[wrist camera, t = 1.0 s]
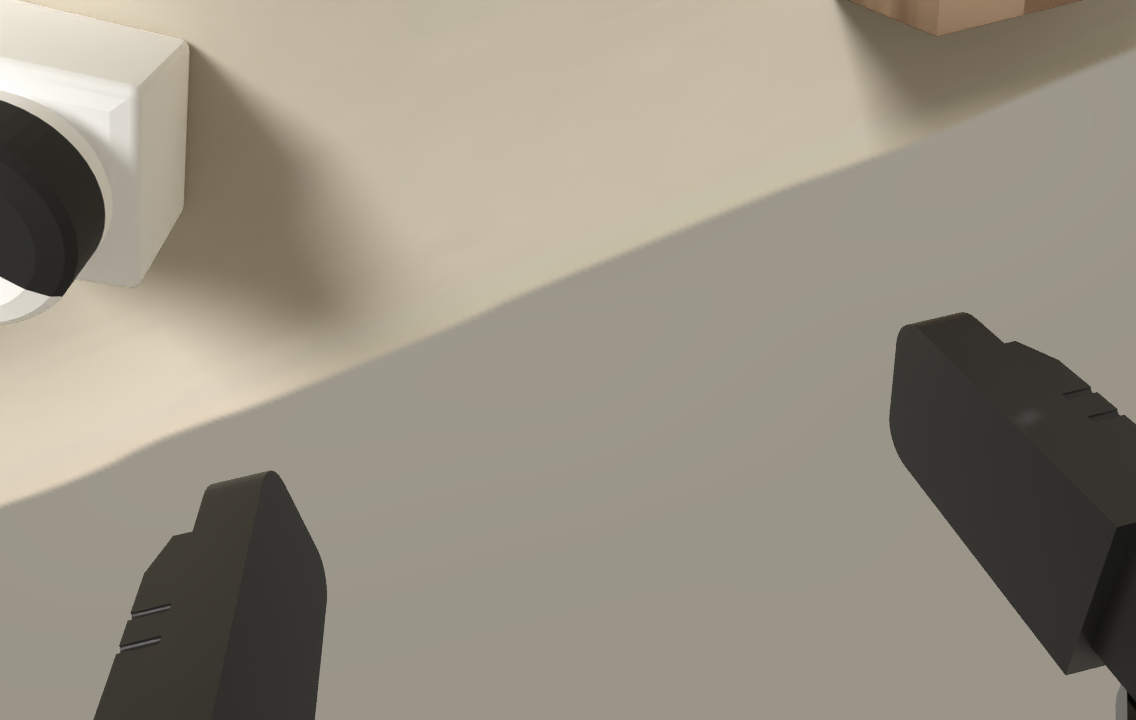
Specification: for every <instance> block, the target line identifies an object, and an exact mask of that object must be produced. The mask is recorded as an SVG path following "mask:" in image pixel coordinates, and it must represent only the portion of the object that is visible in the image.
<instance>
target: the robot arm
mask: <svg viewBox="0 0 1136 720" xmlns="http://www.w3.org/2000/svg"><path fill="white" fill-rule="evenodd" d="M889 421H890V431H891V436H892V440H893V443H894V446H895V448H896V451H897V453H898V455H899V457H900V459H901V461H902V462H903V464H904V465H905V467H906V468H907V469H908V471H909V472H910V473H911V474H912V476H913V477H914V478H915V480H916V481H917V482H918V484H919V485H920V486H921V488H922V489H923V490H924V491H925V493H926V494H927V495H928V497H929V498H930V499H931V501H932V502H933V503H934V504H935V505H936V507H937V508H938V510H939V511H940V512H941V514H942V515H943V516H944V517H945V519H946V520H947V521H948V522H949V524H950V525H951V527H952V528H953V529H954V530H955V532H956V533H957V534H958V535H959V537H960V538H961V540H962V541H963V542H964V543H965V545H966V546H967V547H968V549H969V550H970V551H971V553H972V554H973V555H974V556H975V558H976V559H977V560H978V562H979V563H980V564H981V565H982V567H983V568H984V570H985V571H986V572H987V573H988V575H989V576H990V577H991V578H992V580H993V581H994V582H995V584H996V585H997V586H998V588H999V589H1000V590H1001V592H1002V593H1003V594H1004V596H1005V597H1006V598H1007V600H1008V601H1009V602H1010V603H1011V605H1012V606H1013V607H1014V609H1015V610H1016V611H1017V613H1018V614H1019V615H1020V616H1021V618H1022V619H1023V620H1024V622H1025V623H1026V624H1027V625H1028V627H1029V628H1030V629H1031V631H1032V632H1033V633H1034V635H1035V636H1036V637H1037V639H1038V640H1039V641H1040V642H1041V644H1042V645H1043V646H1044V648H1045V649H1046V650H1047V651H1048V653H1049V654H1050V656H1051V657H1052V658H1053V659H1054V661H1055V662H1056V663H1057V665H1058V666H1059V667H1060V668H1061V670H1062V671H1063V672H1064V674H1065V675H1069V674H1073V673H1076V672H1080V671H1085V670H1088V669H1092V668H1096V667H1100V666H1104V665H1106V666H1107V667H1108V668H1109V670H1110V671H1111V672H1112V673H1113V675H1114V676H1115V677H1116V678H1117V679H1118V681H1119V682H1120V683H1121V685H1120V688H1119V690H1118V693H1117V696H1116V720H1136V424H1135V423H1133V422H1132V421H1131V420H1130V419H1129V418H1127V417H1126V416H1125V415H1122V416H1120V415H1119V414H1118V412H1117V408H1115V407H1114V406H1113V405H1112V404H1111V403H1109V402H1108V401H1107V400H1106V399H1105V398H1103V397H1102V396H1101V395H1100V394H1099V393H1097V392H1096V393H1092V391H1091V387H1090V386H1089V385H1088V384H1087V383H1085V382H1084V381H1083V380H1082V379H1081V378H1079V377H1078V376H1077V375H1076V374H1075V373H1073V372H1072V371H1071V370H1070V369H1069V368H1067V367H1066V366H1065V365H1064V364H1063V363H1061V362H1060V361H1059V360H1057V359H1055V358H1053V357H1050V356H1048V355H1046V354H1044V353H1041V352H1039V351H1037V350H1035V349H1032V348H1030V347H1028V346H1026V345H1023V344H1021V343H1019V342H1016V341H1013V342H1009V343H1005V344H1004V343H1003V342H1002V341H1001V340H1000V339H999V338H998V337H996V336H995V335H994V334H993V333H992V332H991V331H990V330H988V329H987V328H986V327H985V326H984V325H983V324H982V323H980V322H979V321H978V320H977V319H976V318H974V317H973V316H972V315H970V314H968V313H964V312H962V313H956V314H952V315H948V316H943V317H939V318H935V319H931V320H926V321H922V322H917V323H913V324H909V325H905V326H904V327H902V328H901V330H900V332H899V334H898V337H897V343H896V353H895V364H894V375H893V385H892V395H891V406H890V417H889ZM326 603H327V586H326V578H325V572H324V568H323V563H322V560H321V557H320V554H319V552H318V550H317V548H316V546H315V544H314V542H313V540H312V538H311V536H310V534H309V532H308V530H307V528H306V526H305V524H304V522H303V520H302V518H301V516H300V514H299V512H298V510H297V508H296V506H295V504H294V502H293V500H292V498H291V496H290V494H289V492H288V490H287V489H286V486H285V484H284V483H283V481H282V479H281V478H280V476H279V475H278V474H277V473H276V472H274V471H266V472H262V473H258V474H253V475H249V476H245V477H240V478H236V479H232V480H228V481H223V482H219V483H215V484H212V485H210V486H208V487H207V490H206V491H205V493H204V496H203V499H202V502H201V506H200V509H199V512H198V516H197V519H196V522H195V526H194V529H193V532H189V533H185V534H180V535H176V536H173V537H172V538H171V540H170V541H169V542H168V543H167V545H166V546H165V547H164V549H163V550H162V551H161V553H160V554H159V555H158V556H157V558H156V559H155V560H154V562H153V563H152V564H151V565H150V567H149V568H148V570H147V571H146V572H145V573H144V576H143V579H142V582H141V585H140V587H139V590H138V593H137V596H136V599H135V602H134V605H133V607H132V610H131V614H132V620H129V621H128V622H127V625H126V628H125V630H124V633H123V636H122V639H121V642H120V645H119V646H120V649H121V652H120V653H119V654H116V657H115V659H114V662H113V665H112V668H111V671H110V674H109V677H108V680H107V683H106V685H105V688H104V691H103V694H102V697H101V700H100V703H99V706H98V708H97V711H96V714H95V717H94V720H315V712H316V702H317V691H318V681H319V672H320V662H321V653H322V642H323V633H324V623H325V613H326Z"/></svg>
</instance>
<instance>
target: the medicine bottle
mask: <svg viewBox="0 0 1136 720" xmlns="http://www.w3.org/2000/svg"><path fill="white" fill-rule="evenodd" d="M189 54H190V51H189V46H188V44H187V43H186V42H185V41H184V40H182V39H180V38H175V37H171V36H167V35H163V34H158V33H154V32H150V31H146V30H141V29H137V28H133V27H129V26H125V25H120V24H116V23H112V22H108V21H103V20H99V19H95V18H91V17H86V16H82V15H78V14H74V13H69V12H65V11H61V10H57V9H52V8H48V7H44V6H40V5H36V4H31V3H27V2H23V1H19V0H0V325H3V324H9V323H15V322H19V321H22V320H25V319H29V318H31V317H34V316H36V315H38V314H40V313H42V312H44V311H45V310H47V309H48V308H50V307H51V306H53V305H54V304H55V303H56V302H57V301H58V300H59V299H60V298H61V297H62V296H63V295H64V294H65V292H66V291H67V289H68V288H69V287H70V285H71V284H72V283H73V281H74V280H75V279H77V280H83V281H90V282H96V283H103V284H109V285H116V286H123V287H135V286H137V285H138V284H140V283H141V281H142V279H143V278H144V276H145V274H146V273H147V271H148V269H149V267H150V266H151V264H152V262H153V260H154V259H155V257H156V255H157V254H158V252H159V250H160V248H161V247H162V245H163V243H164V242H165V240H166V238H167V236H168V235H169V233H170V231H171V229H172V228H173V226H174V224H175V223H176V221H177V219H178V217H179V216H180V214H181V212H182V210H183V208H184V187H185V160H186V133H187V107H188V80H189Z"/></svg>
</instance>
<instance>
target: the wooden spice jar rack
mask: <svg viewBox="0 0 1136 720" xmlns="http://www.w3.org/2000/svg"><path fill="white" fill-rule="evenodd" d="M849 1H851V2H853V3H856V4H858V5H861V6H863V7H866V8H868V9H871V10H873V11H876V12H878V13H881V14H883V15H885V16H888V17H890V18H893V19H895V20H898V21H900V22H903V23H905V24H908V25H910V26H913V27H915V28H917V29H920V30H922V31H925V32H927V33H930V34H932V35H935V36H941V35H945V34H949V33H953V32H957V31H961V30H965V29H969V28H973V27H977V26H981V25H985V24H989V23H993V22H997V21H1001V20H1005V19H1009V18H1013V17H1017V16H1021V15H1025V14H1029V13H1033V12H1037V11H1041V10H1045V9H1049V8H1053V7H1057V6H1061V5H1065V4H1069V3H1073V2H1077V1H1081V0H849Z"/></svg>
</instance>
